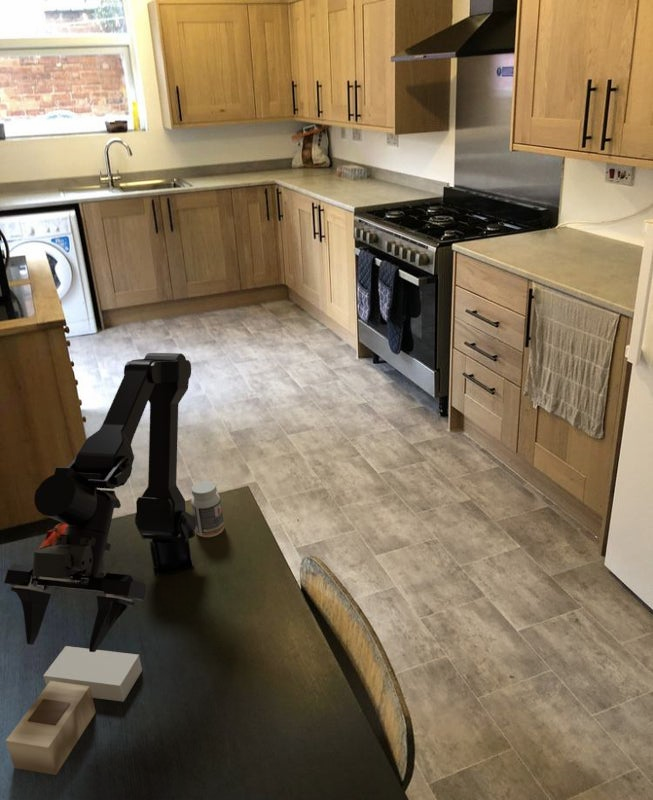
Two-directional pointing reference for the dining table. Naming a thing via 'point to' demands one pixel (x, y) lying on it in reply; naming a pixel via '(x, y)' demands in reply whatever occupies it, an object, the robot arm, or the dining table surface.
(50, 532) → the dragon fruit
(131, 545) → the dining table surface
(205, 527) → the pill bottle
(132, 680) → the grey plinth
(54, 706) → the birch block
